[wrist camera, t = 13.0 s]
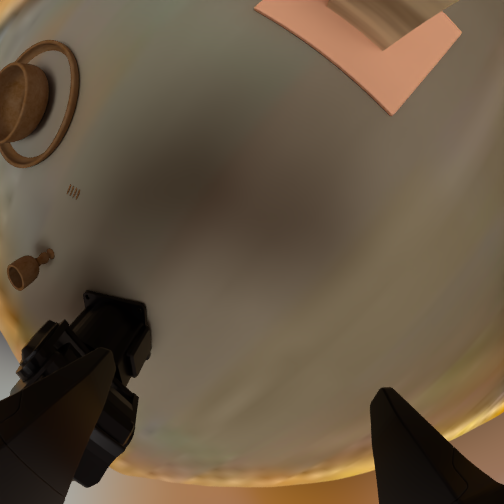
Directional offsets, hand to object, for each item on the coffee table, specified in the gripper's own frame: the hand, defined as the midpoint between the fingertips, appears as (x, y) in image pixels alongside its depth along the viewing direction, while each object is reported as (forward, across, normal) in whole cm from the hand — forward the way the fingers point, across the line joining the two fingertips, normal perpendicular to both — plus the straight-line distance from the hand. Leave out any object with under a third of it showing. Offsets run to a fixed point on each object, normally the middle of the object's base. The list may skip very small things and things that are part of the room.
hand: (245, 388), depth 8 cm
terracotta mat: (+13, -6, -19) cm, 24 cm away
